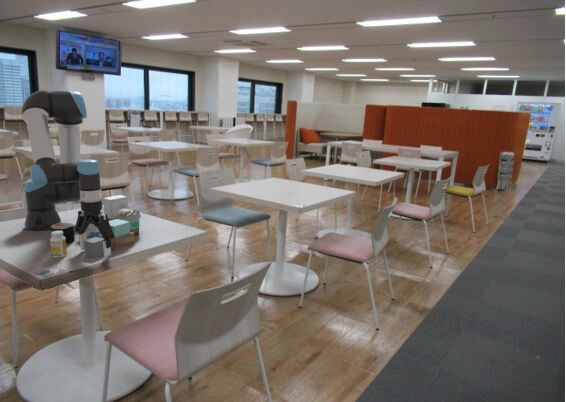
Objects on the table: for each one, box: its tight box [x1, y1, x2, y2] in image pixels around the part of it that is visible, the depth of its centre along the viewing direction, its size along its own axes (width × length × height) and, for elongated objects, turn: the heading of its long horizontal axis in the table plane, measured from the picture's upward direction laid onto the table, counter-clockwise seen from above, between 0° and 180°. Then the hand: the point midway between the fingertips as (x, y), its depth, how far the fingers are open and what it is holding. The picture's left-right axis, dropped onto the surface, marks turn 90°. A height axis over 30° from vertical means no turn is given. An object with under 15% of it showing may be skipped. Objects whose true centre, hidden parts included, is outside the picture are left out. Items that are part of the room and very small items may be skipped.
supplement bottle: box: [49, 231, 68, 259], centre depth 158 cm, size 5×5×10 cm
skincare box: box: [102, 194, 129, 220], centre depth 214 cm, size 10×6×10 cm, turn 147°
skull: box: [115, 209, 132, 219], centre depth 202 cm, size 12×10×10 cm
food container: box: [119, 209, 142, 237], centre depth 185 cm, size 12×6×10 cm, turn 168°
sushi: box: [50, 222, 76, 245], centre depth 174 cm, size 8×8×8 cm
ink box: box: [85, 210, 104, 238], centre depth 183 cm, size 9×5×12 cm, turn 65°
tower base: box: [98, 232, 136, 251], centre depth 173 cm, size 10×10×5 cm
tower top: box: [108, 218, 131, 238], centre depth 172 cm, size 8×8×5 cm
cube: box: [84, 237, 104, 258], centre depth 161 cm, size 6×6×6 cm
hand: (95, 252), depth 162 cm, fingers open, 13 cm apart
